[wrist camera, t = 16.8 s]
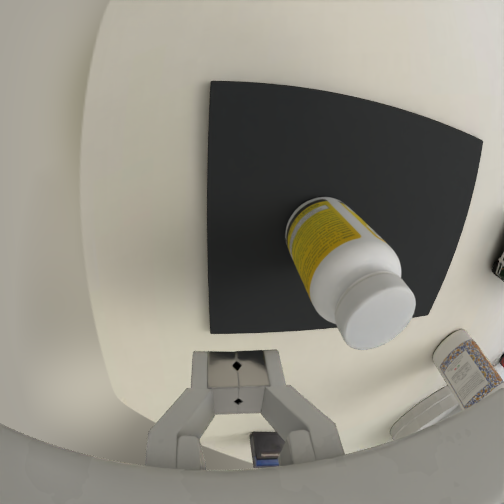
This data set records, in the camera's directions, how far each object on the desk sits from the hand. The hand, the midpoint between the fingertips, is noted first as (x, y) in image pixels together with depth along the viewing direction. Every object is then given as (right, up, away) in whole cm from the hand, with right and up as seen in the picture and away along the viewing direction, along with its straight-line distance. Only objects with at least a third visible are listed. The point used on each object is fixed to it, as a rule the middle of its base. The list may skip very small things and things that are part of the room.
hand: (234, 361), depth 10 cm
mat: (+9, +6, +12) cm, 16 cm away
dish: (+42, -32, +37) cm, 64 cm away
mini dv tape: (+4, -25, +28) cm, 38 cm away
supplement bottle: (+5, +6, +11) cm, 13 cm away
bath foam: (+30, -10, +23) cm, 39 cm away
